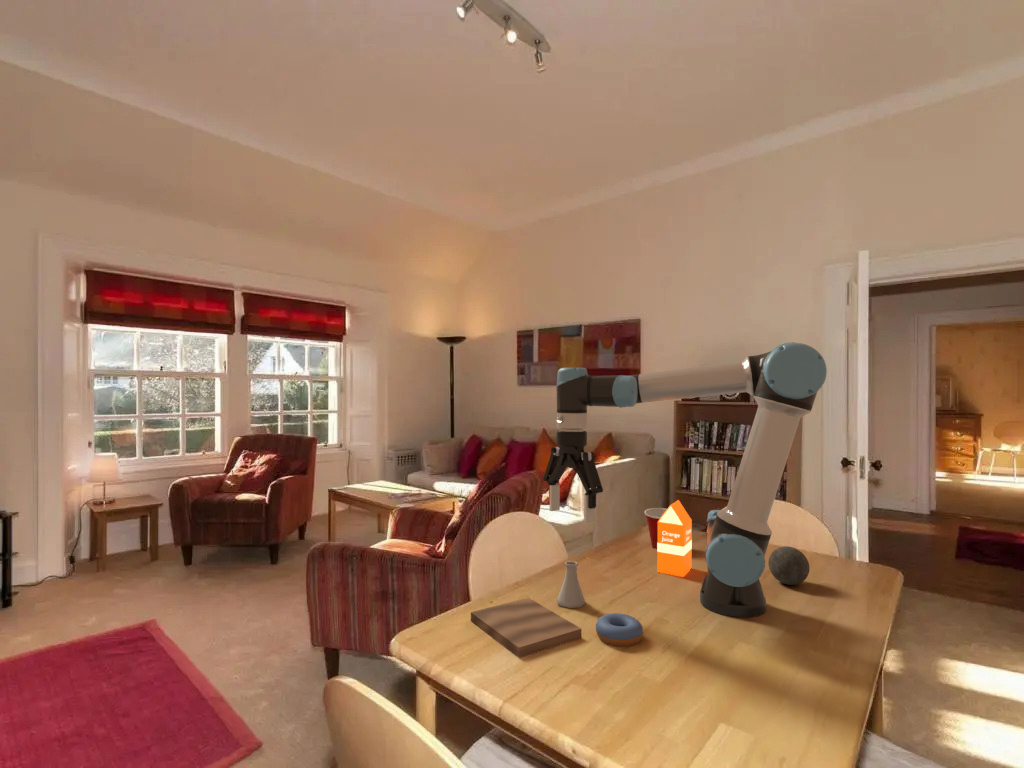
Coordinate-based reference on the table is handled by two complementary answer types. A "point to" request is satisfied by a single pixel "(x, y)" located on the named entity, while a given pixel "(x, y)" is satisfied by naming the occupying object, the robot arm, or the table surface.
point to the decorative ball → (788, 565)
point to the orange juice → (674, 541)
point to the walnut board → (525, 626)
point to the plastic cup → (654, 523)
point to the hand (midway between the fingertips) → (571, 515)
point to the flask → (571, 588)
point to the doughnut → (619, 629)
